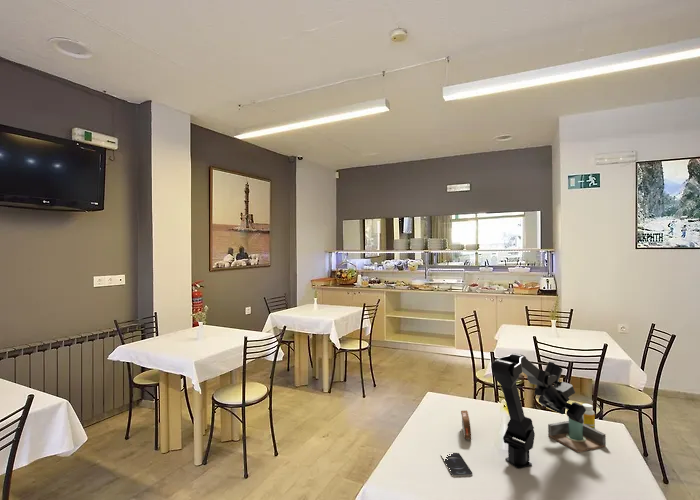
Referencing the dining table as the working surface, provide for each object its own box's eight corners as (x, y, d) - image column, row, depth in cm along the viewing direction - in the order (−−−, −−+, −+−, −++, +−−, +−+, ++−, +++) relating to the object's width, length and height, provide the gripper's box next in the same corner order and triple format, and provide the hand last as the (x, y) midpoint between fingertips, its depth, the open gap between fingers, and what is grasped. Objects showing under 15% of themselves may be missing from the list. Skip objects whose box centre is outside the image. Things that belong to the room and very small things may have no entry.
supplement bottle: (577, 425, 169) (577, 403, 169) (586, 424, 171) (586, 402, 171) (588, 431, 164) (588, 408, 164) (598, 429, 165) (597, 406, 166)
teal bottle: (576, 441, 153) (575, 406, 153) (565, 435, 158) (565, 402, 158) (586, 439, 155) (585, 405, 155) (575, 433, 159) (574, 400, 160)
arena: (577, 452, 146) (577, 439, 146) (548, 436, 160) (548, 424, 160) (605, 446, 151) (605, 434, 151) (575, 431, 164) (574, 419, 164)
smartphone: (459, 452, 147) (473, 474, 132) (459, 454, 147) (473, 477, 132) (439, 453, 146) (451, 475, 131) (439, 455, 146) (452, 477, 131)
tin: (471, 443, 154) (471, 422, 154) (463, 442, 155) (463, 421, 155) (468, 426, 169) (467, 407, 169) (460, 426, 170) (460, 406, 170)
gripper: (581, 384, 146) (604, 410, 149) (543, 370, 164) (564, 394, 167) (565, 408, 143) (589, 434, 146) (528, 391, 161) (550, 414, 164)
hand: (572, 417), depth 156 cm, fingers open, 9 cm apart
